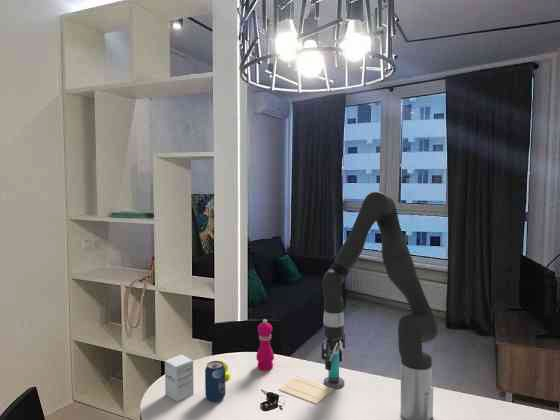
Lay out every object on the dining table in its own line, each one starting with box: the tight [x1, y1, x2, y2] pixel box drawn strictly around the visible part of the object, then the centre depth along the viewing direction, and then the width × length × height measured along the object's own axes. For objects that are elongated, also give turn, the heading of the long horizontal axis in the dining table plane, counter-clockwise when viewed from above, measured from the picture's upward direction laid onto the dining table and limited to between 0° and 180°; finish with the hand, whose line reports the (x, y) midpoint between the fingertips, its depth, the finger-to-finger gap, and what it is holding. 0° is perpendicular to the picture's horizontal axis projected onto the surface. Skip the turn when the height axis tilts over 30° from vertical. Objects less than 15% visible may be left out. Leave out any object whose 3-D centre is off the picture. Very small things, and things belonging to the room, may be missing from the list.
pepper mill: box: [255, 319, 275, 372], centre depth 156 cm, size 7×7×20 cm
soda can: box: [204, 360, 226, 403], centre depth 134 cm, size 7×7×12 cm
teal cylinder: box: [327, 349, 340, 384], centre depth 143 cm, size 4×4×12 cm
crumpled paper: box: [220, 359, 231, 381], centre depth 148 cm, size 6×8×8 cm
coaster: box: [323, 376, 345, 389], centre depth 144 cm, size 8×8×1 cm
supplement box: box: [164, 354, 195, 403], centre depth 136 cm, size 7×7×13 cm
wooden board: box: [278, 375, 335, 405], centre depth 139 cm, size 16×12×1 cm
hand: (333, 365), depth 143 cm, fingers open, 8 cm apart
